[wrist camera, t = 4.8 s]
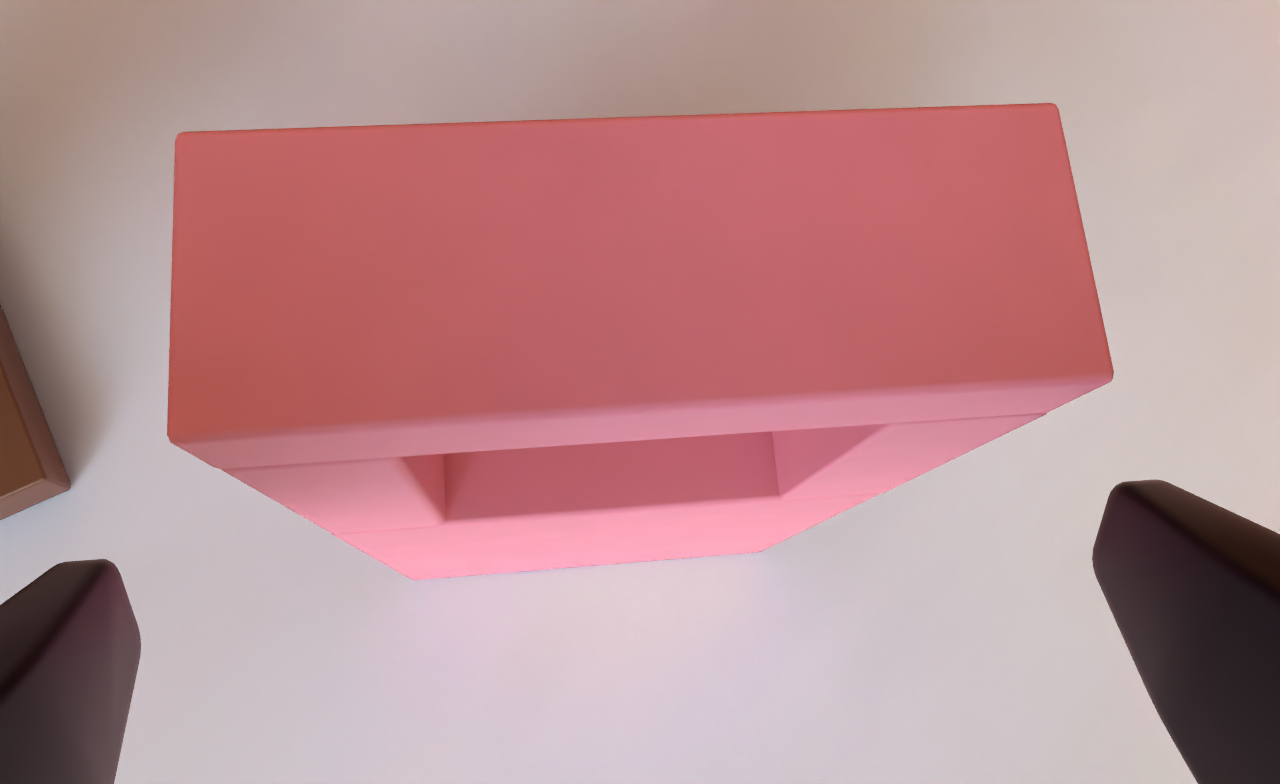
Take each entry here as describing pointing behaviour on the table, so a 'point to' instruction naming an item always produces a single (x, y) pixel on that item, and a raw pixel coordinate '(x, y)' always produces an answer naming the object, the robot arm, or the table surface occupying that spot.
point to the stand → (23, 437)
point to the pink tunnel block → (620, 322)
